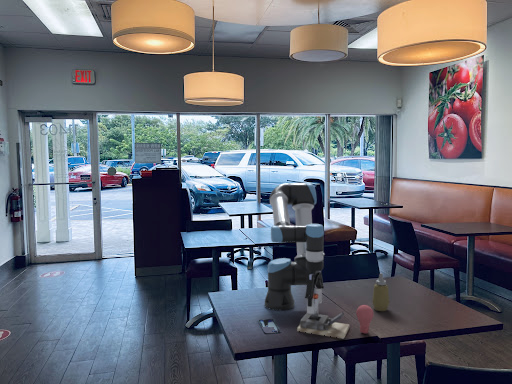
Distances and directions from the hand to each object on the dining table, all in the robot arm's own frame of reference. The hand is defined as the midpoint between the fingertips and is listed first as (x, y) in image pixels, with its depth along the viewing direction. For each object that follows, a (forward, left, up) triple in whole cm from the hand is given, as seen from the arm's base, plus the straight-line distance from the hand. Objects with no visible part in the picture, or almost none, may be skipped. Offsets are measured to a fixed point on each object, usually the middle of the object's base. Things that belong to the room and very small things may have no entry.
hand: (314, 308), depth 179 cm
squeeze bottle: (+24, +34, -9) cm, 43 cm away
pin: (0, 0, -8) cm, 8 cm away
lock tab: (+9, 0, -5) cm, 10 cm away
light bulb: (+21, +3, -9) cm, 23 cm away
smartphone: (-19, -6, -10) cm, 22 cm away
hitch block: (+4, 0, -9) cm, 10 cm away
